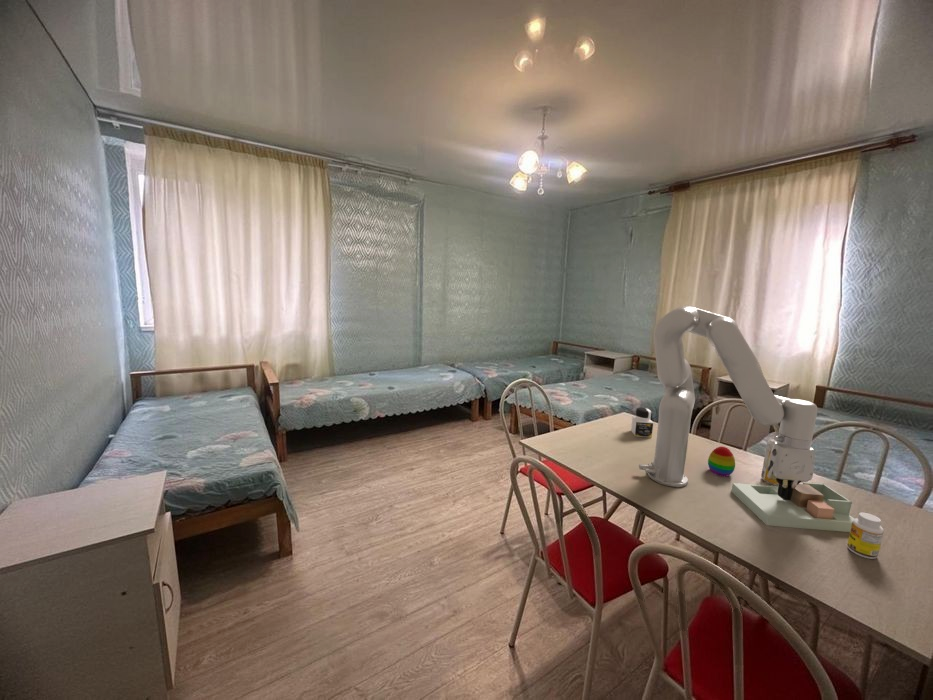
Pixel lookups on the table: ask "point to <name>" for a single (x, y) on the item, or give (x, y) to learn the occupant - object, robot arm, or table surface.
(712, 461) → the decorative egg
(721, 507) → the table surface
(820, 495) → the walnut block
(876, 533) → the supplement bottle
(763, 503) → the board
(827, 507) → the terracotta block
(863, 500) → the table surface
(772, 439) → the pill bottle
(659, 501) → the table surface
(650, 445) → the table surface
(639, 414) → the medicine bottle
